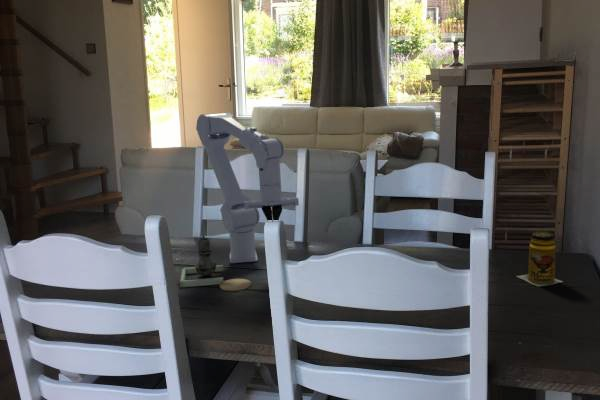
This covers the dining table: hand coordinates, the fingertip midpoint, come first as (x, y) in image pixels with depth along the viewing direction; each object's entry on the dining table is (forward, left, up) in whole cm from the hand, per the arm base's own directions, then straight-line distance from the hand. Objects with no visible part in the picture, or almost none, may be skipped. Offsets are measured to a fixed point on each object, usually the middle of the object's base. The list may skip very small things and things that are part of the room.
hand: (273, 233), depth 165 cm
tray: (+3, -19, -10) cm, 22 cm away
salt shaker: (+3, -19, -11) cm, 22 cm away
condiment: (+25, +64, -11) cm, 69 cm away
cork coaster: (+11, -11, -10) cm, 19 cm away
